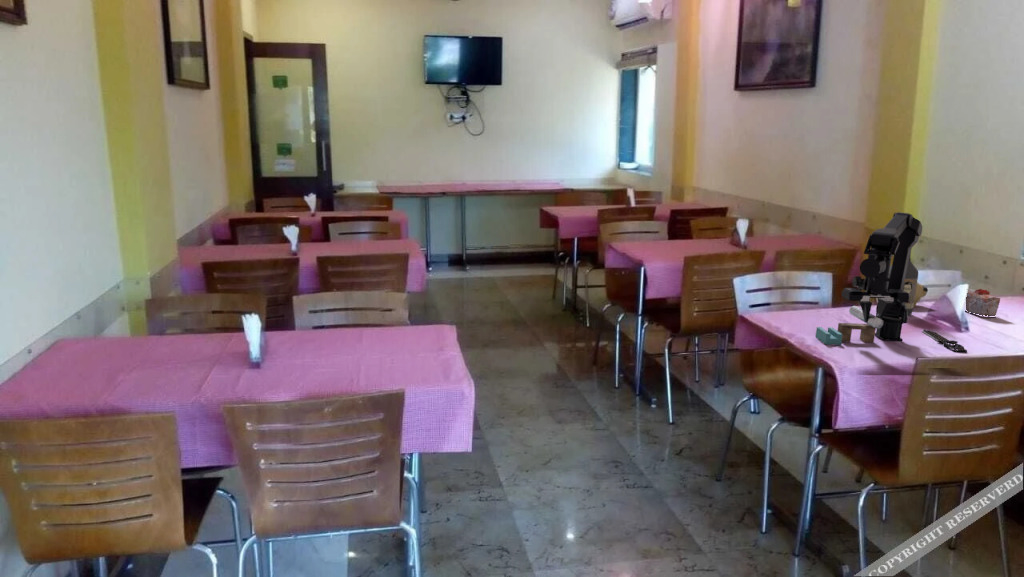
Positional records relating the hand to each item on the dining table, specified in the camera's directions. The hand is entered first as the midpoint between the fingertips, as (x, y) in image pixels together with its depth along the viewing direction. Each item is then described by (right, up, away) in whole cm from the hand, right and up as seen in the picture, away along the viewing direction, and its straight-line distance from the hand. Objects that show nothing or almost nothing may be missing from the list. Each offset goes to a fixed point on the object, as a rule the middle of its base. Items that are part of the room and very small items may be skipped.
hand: (871, 322), depth 238 cm
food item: (+67, 0, +56) cm, 87 cm away
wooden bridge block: (+1, -7, +15) cm, 16 cm away
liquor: (+34, +1, +53) cm, 63 cm away
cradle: (-8, -7, +13) cm, 17 cm away
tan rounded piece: (+45, +4, +66) cm, 80 cm away
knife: (+32, -8, +18) cm, 37 cm away
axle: (0, 0, +4) cm, 4 cm away
